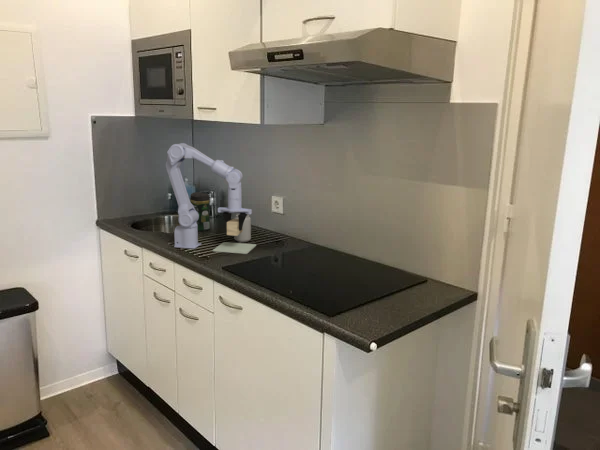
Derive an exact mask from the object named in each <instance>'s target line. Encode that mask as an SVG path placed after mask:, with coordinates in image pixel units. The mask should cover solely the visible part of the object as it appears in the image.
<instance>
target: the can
mask: <svg viewBox="0 0 600 450" xmlns="http://www.w3.org/2000/svg"><path fill="white" fill-rule="evenodd" d="M239 214H240V213H236V215H235V217H234V218H233V219H239V218H238V215H239ZM251 234H252V218H251V217H250V214H247V216H246V218H245V220H244V223H243V232H241V233H240V234H239V235H237V236H234V237H233V238H234V240H235V241H236V242H237V243H246V242H249V241H250V240H252V235H251Z"/></svg>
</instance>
